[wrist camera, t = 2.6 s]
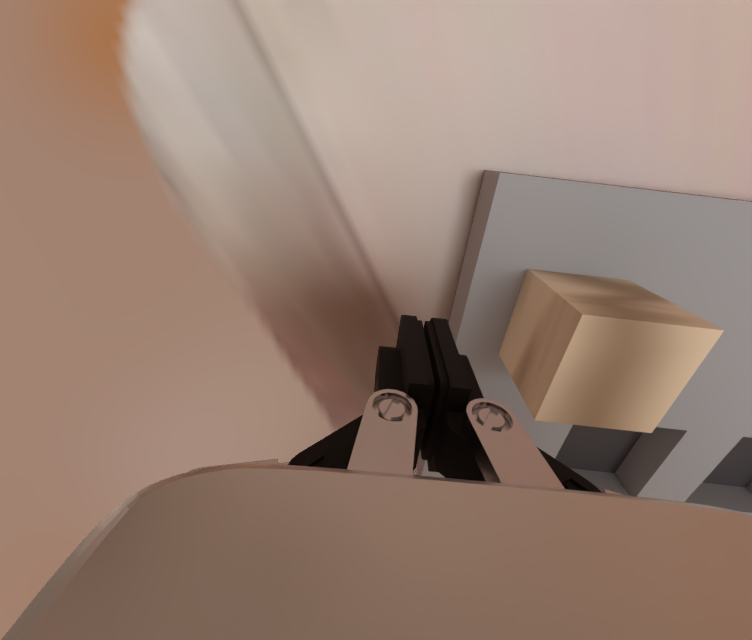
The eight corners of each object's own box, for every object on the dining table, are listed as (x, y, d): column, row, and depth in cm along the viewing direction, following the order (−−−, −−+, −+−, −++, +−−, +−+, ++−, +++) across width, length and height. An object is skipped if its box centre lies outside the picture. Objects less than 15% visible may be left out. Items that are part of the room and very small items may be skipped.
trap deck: (1110, 243, 16) (1422, 282, 11) (807, 499, 26) (903, 579, 21) (484, 170, 16) (526, 177, 11) (416, 457, 26) (422, 529, 21)
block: (629, 280, 16) (724, 330, 11) (586, 363, 18) (651, 433, 13) (527, 268, 15) (582, 314, 11) (498, 354, 18) (534, 420, 13)
